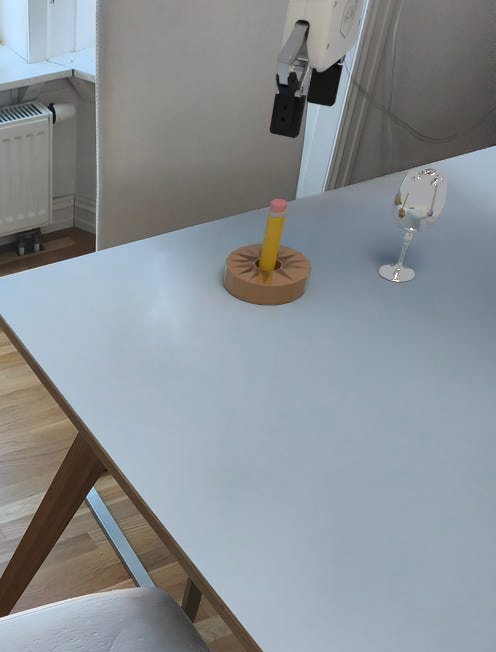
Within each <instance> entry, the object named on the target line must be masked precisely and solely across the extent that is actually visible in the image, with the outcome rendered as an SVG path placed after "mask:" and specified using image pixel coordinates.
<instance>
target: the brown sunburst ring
mask: <svg viewBox="0 0 496 652" xmlns="http://www.w3.org/2000/svg"><path fill="white" fill-rule="evenodd" d="M262 245H263V243H253V244H248V245H243V246H240V247H238V248H236V249H234V250H233V251H231V252H230V253H229V255H228V256H227V257H226V259H225V263H224V270H223V275H222V276H223V277H222V278H223V280H222V284H223V286H224V288H225V290H226V291H227V292H228V293H229V294H230V295H231V296H232V297H235V298H236V299H239V300H240V301H243V302H246V303H249V304H254V305H261V306H278V305H284V304H288V303H291V302H294V301H296V300H297V299H300V298H301V297H302V296H303V295H304V294H305V292H306V290H307V288H308V285H309V281H310V277H311V273H312V266H311V265H312V264H311V261H310V259H309V258H307V257H306V255H304V254H303V253H302V252H300V251H298V250H297V249H294V248H291V247H289V246H285V245H280V244H279V249H278V253H277V258H276V263H275V268H274V270H273V271H266V270H262V269H259V268H258V266H259V261H260V256H261V250H262Z"/></svg>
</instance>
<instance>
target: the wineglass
mask: <svg viewBox="0 0 496 652" xmlns="http://www.w3.org/2000/svg"><path fill="white" fill-rule="evenodd" d="M448 185H449V176H448V175H447V174H446V173H445V172H444V171H442V170H439V169H437V168H432V167H431V168H430V167H415V168H412V169H410V170H408V172H407V173H406V175H405V177H404V178H403V180H402V182H401V184H400V186H399V187H398V190H397V192H396V195H395V197H394V200H393V203H392V209H391V217H392V220H393V222H394V224H395V225H396V226H397V227H398V228H399V229H400V230H403V231H405V232H406V233H404V236H403V237H402V238H403V239H402V249H401V253H400V256H399V258H398V261H397V263H386V264H383V265H381V266H380V267H379V269H378V274H379V275H380V277H382V278H383V279H385V280H388V281H390V282H395V283H405V282H411V281H412V280H413V279H414V278H415V277H416V272H415V270H414V269H413V268H411V267H410V266H408V265H404V263H403V261H404V258H405V254H406V251H407V249H408V248H409V245H410V243H412V241H413V237H414V234H413V233H419V232H424V231H427V230H429V229H431V228H432V227H434V225H435V224H436V223H437V222H438V221H439V219H440V218H441V216H442V213H443V211H444V208H445V205H446V201H447V196H448Z"/></svg>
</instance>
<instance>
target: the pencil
mask: <svg viewBox="0 0 496 652" xmlns="http://www.w3.org/2000/svg"><path fill="white" fill-rule="evenodd" d="M287 206H288V202H287V200H285V199H283V198H274V199H272V200H271V201H270V206H269V209H268V214H267V219H266V220H267V221H266V224H265V230H264V234H263V240H262V244H263V245H262V250H261V256H260V261H259V266H258V268H259V269H262V270H266V271H273V270H274V268H275V263H276V258H277V253H278V249H279V245H280V243H281V238H282V233H283V229H284V223H285V218H286V214H287V208H288V207H287Z"/></svg>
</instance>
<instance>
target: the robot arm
mask: <svg viewBox="0 0 496 652" xmlns="http://www.w3.org/2000/svg"><path fill="white" fill-rule="evenodd" d="M364 4H365V0H288V4H287V9H286V14H285V18H284V19H285V20H284V25H283V31H282V37H281V43H280V44H281V45H280V52H279V54H278V56H277V61H276V63H277V64H276V67H277V68H276V69H277V72H276V74H275V83H276V84H275V87H274V99H273V106H272V111H271V118H270V124H269V133H271V134H273V135H277V136H282V137H285V138H291V139H296V138H297V137H298V136H300V132H301V127H302V122H303V117H304V113H305V112H304V111H305V106H306V103H308V104H313V105H319V106H324V107H329V108H330V107H333V106H334V105H335V104H336V100H337V96H338V91H339V87H340V82H341V78H342V73H343V68H344V62H345V60H346V57H347V54H348V53H349V52H350V51H351V50H352V49H353V48H354V46H355V45H356V43H357V41H358V36H359V30H360V26H361V20H362V14H363V10H364V9H363V8H364ZM297 72H301V75H300V77H299V78H298V75H297ZM308 83H309V84H308ZM307 85H308V89H307V94H304V93H305V90H306V87H307Z"/></svg>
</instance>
